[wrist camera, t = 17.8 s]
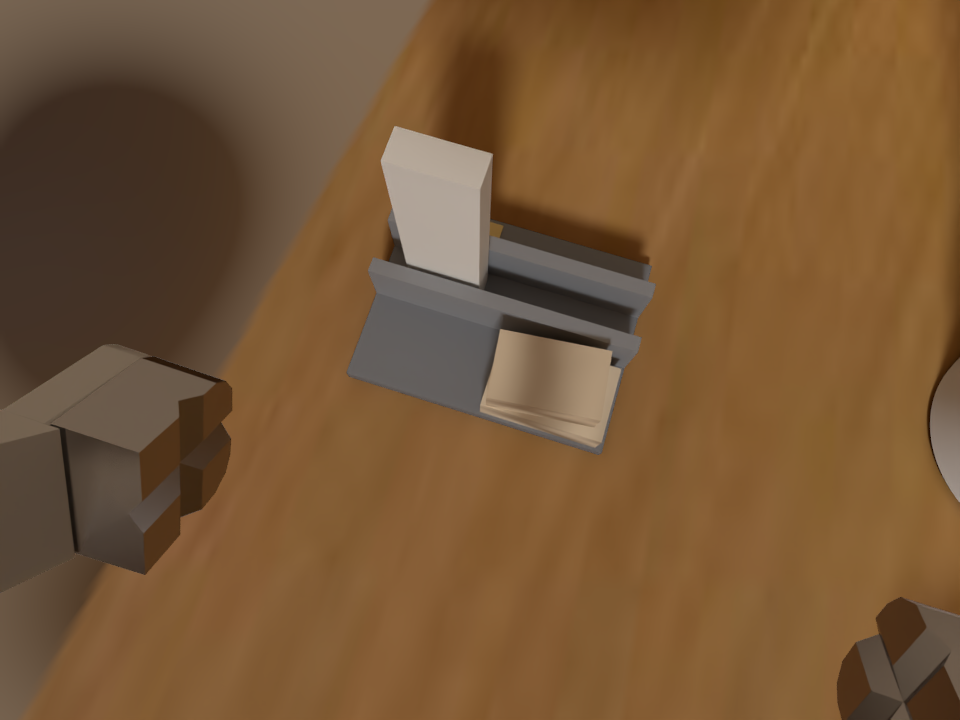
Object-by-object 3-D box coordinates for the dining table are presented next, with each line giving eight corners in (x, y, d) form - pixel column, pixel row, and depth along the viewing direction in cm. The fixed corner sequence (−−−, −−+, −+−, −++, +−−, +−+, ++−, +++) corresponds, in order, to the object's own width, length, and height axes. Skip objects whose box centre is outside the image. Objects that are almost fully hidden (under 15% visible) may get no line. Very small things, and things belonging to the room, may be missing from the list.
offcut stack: (614, 376, 46) (630, 356, 41) (594, 447, 45) (609, 436, 40) (500, 341, 47) (503, 318, 42) (478, 411, 45) (478, 395, 41)
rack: (648, 271, 49) (667, 241, 44) (598, 454, 46) (613, 444, 41) (414, 203, 51) (408, 167, 46) (349, 376, 47) (334, 357, 42)
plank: (487, 278, 48) (492, 153, 32) (478, 304, 47) (480, 189, 32) (420, 259, 48) (394, 126, 33) (411, 283, 48) (380, 160, 32)
